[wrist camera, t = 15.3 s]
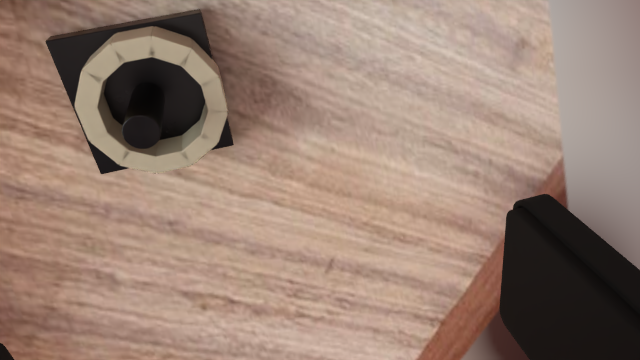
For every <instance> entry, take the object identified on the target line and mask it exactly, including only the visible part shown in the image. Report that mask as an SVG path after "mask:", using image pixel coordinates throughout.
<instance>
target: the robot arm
mask: <svg viewBox="0 0 640 360" xmlns="http://www.w3.org/2000/svg"><path fill="white" fill-rule="evenodd" d="M500 314H501V318H502V320H503V323H504V324H505V326H506V328H507V329H508V330H509V332H510V333H511V334H512V336H513V337H514V339H515V340H516V341H517V343H518V344H519V345H520V347H521V348H522V350H523V351H524V352H525V354H526V355H527V357H528V358H529V359H530V360H640V270H639V269H638V268H637V267H635V266H634V265H633V264H632V263H631V262H629V261H628V260H627V259H626V258H625V257H623V256H622V255H621V254H620V253H619V252H617V251H616V250H615V249H614V248H613V247H612V246H610V245H609V244H608V243H607V242H606V241H604V240H603V239H602V238H601V237H600V236H598V235H597V234H596V233H595V232H594V231H592V230H591V229H590V228H589V227H588V226H586V225H585V224H584V223H583V222H582V221H580V220H579V219H578V218H577V217H576V216H574V215H573V214H572V213H571V212H570V211H568V210H567V209H566V208H565V207H564V206H563V205H561V204H560V203H559V202H558V201H557V200H555V199H554V198H553V197H551V196H550V195H548V194H542V195H538V196H534V197H530V198H527V199H523V200H519V201H517V202H516V203H515V204H514V207H513V210H510V211H509V212H508V213H507V217H506V230H505V243H504V256H503V269H502V283H501V296H500ZM0 360H14V359H13V357H12V356H11V354H10V353H9V351H8V350H7V349H6V347H5V346H4V345H3V344H1V343H0Z"/></svg>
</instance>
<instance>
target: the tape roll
mask: <svg viewBox="0 0 640 360" xmlns="http://www.w3.org/2000/svg"><path fill="white" fill-rule="evenodd" d="M150 57H154V58H157V59H160V60H163V61H166V62H170V63H173V64H176V65H179V66H182V67H183V68H184V69H185V70H186V71H187V72H188V73H189V74H190V75H191V76H192V77H193V78H194V79H195V80H196V81H197V82H198V83H199V84H200V85H201V87H202V91H203V94H204V98H205V105H204V108H203V111H202V115H201V118H200V120H199V121H198V122H197V123H196V124H195V125H193V126H192V127H191V128H190V129H189V130H188V131H187V132H185V133H184V134H183V135H181V136H177V137H172V138H168V139H163V140H159V141H158V142H157V143H156V144H155V145H154V146H152V147H150V148H147V149H138V148H135V147H132V146H131V145H129V144H128V143H127V142H126V141H125V139H124V138H123V135H122V125H121V124H120V123H118V122H117V121H116V120H115V119H114V118H113V117H112V114H111V112H110V109H109V106H108V104H107V101H106V98H105V96H104V90H105V85H106V81H107V78H108V77H109V76H110V75H111V74H112V73H113V72H114V71H115V70H116V69H118V68H119V67H120V66H121V65H122V64H123V63H125V62H130V61H135V60H140V59H145V58H150ZM74 106H75V110H76V112H77V114H78V117H79V119H80V122H81V124H82V126H83V129H84V131H85V133H86V136H87V138H88V140H89V141H90V142H91V143H92V144H93V145H94V146H96V147H97V148H98V149H99V150H101V151H102V152H103V153H105V154H106V155H107V156H108V157H110V158H111V159H112V160H113V161H115V162H116V163H117V164H120V166H123V167H128V168H132V169H137V170H141V171H146V172H150V173H155V174H156V173H162V172H167V171H171V170H176V169H180V168H184V167H189V166H191V165H194V164H195V163H196V162H197V161H198V160H199V159H201V158H202V157H203V156H204V155H205V154H206V153H208V152H209V151H210V150H211V149H212V148H213V147H215V146H216V145H217V143H218V142H219V139H220V136H221V133H222V130H223V127H224V124H225V121H226V118H227V115H228V106H227V101H226V96H225V92H224V88H223V84H222V80H221V76H220V72H219V68H218V66H217V64H216V63H215V62H214V61H213V60H212V59H211V58H210V57H209V56H208V55H207V54H206V52H205V51H204V50H203V49H202V48H201V47H200V46H199V45H198V44H197V43H196V42H195V41H194V40H193V39H191V38H190V37H187V36H184V35H181V34H178V33H175V32H172V31H169V30H166V29H163V28H160V27H157V26H155V27H154V26H150V27H145V28H140V29H134V30H129V31H123V32H118V33H116V34H114V35H113V36H112V37H111V38H110V39H108V40H107V41H106V42H105V43H104V44H103V45H102V46H101V47H100V48H99V49H98V50H97V51H96V52H95V53H94V54H92V55H91V56H90V57H89V59H88V61H87V62H86V64H85V65H84V67H83V69H82V70H81V74H80V79H79V84H78V89H77V95H76V100H75V105H74Z"/></svg>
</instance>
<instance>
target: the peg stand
mask: <svg viewBox="0 0 640 360" xmlns="http://www.w3.org/2000/svg"><path fill="white" fill-rule="evenodd" d="M150 26H154V27H155V26H157V27H160V28H163V29H166V30H169V31H172V32H175V33H178V34H181V35H184V36H187V37H190V38H191V39H193V40H194V41H195V42H196V43H197V44H198V45H199V46H200V47H201V48H202V49H203V50H204V51H205V52H206V54H207V55H208V56H209V57H210V58H211V59H212V60H213V58H212V54H211V50H210V46H209V42H208V38H207V33H206V29H205V25H204V21H203V17H202V13H201V10H200V9H199V10H193V11H188V12H182V13H177V14H171V15H166V16H160V17H155V18H149V19H144V20H138V21H133V22H127V23H122V24H116V25H111V26H105V27H100V28H94V29H89V30H83V31H78V32H72V33H67V34H61V35H56V36H51V37H49V38H48V39H47V40H46V44H47V46H48V49H49V51H50V53H51V56H52V58H53V60H54V63H55V65H56V68H57V70H58V72H59V75H60V77H61V80H62V82H63V84H64V87H65V89H66V91H67V94H68V96H69V99H70V101H71V103H72V106H73V108H74V111H75V113H76V115H77V118H78V120H79V123H80V125H81V127H82V130H83V132H84V134H85V137H86V139H87V142H88V144H89V146H90V149H91V151H92V154H93V156H94V158H95V161H96V163H97V165H98V168H99V170H100V173H101V174H104V173H109V172H113V171H118V170H123V169H127V168H128V167H123V166H120V164H117V163H116V162H115V161H113V160H112V159H111V158H110V157H108V156H107V155H106V154H105V153H103V152H102V151H101V150H99V149H98V148H97V147H96V146H94V145H93V144H92V143H91V142H90V141H89V140H88V138H87V136H86V133H85V131H84V129H83V126H82V124H81V122H80V119H79V117H78V114H77V112H76V110H75V106H74V105H75V100H76V95H77V89H78V84H79V79H80V74H81V70H82V69H83V67H84V65H85V64H86V62H87V61H88V59H89V57H90V56H91V55H92V54H94V53H95V52H96V51H97V50H98V49H99V48H100V47H101V46H102V45H103V44H104V43H105V42H106V41H107V40H108V39H110V38H111V37H112V36H113V35H114V34H116V33H118V32H123V31H129V30H134V29H140V28H145V27H150ZM104 96H105V98H106V101H107V104H108V106H109V109H110V112H111V114H112V117H113V118H114V119H115V120H116V121H117V122H118V123H120V124H121V125H122V135H123V138H124V139H125V141H126V142H127V143H128V144H129V145H131V146H132V147H135V148H138V149H147V148H150V147H152V146H154V145H155V144H156V143H157V142H158V141H159V140H163V139H168V138H172V137H177V136H181V135H183V134H184V133H185V132H187V131H188V130H189V129H190V128H191V127H192V126H193V125H195V124H196V123H197V122H198V121H199V120H200V118H201V115H202V111H203V108H204V105H205V98H204V94H203V91H202V87H201V85H200V84H199V83H198V82H197V81H196V80H195V79H194V78H193V77H192V76H191V75H190V74H189V73H188V72H187V71H186V70H185V69H184V68H183V67H182V66H179V65H176V64H173V63H170V62H166V61H163V60H160V59H157V58H154V57H150V58H145V59H140V60H135V61H130V62H125V63H123V64H122V65H121V66H120V67H119V68H118V69H116V70H115V71H114V72H113V73H112V74H111V75H110V76H109V77H108V78H107V81H106V85H105V90H104ZM232 145H234V144H233V139H232V135H231V131H230V126H229V122H228V118H226V121H225V124H224V127H223V130H222V133H221V136H220V139H219V142H218V143H217V145H216V146H215V147H213V148H212V149H211V150H213V149H218V148H223V147H227V146H232Z"/></svg>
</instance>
